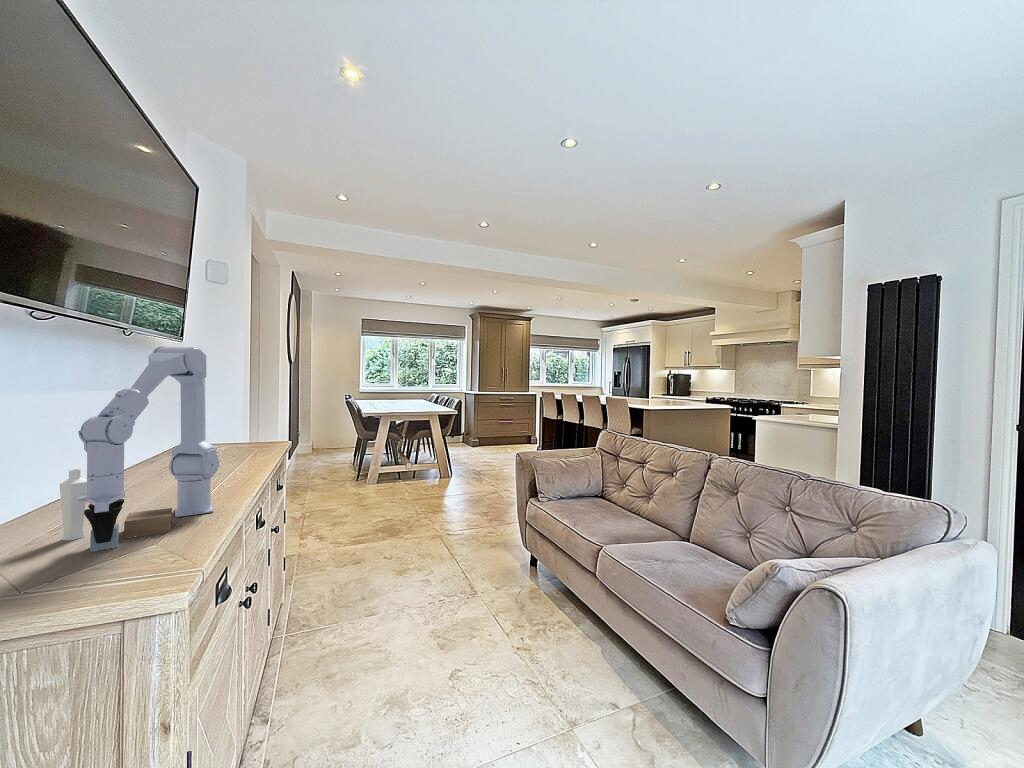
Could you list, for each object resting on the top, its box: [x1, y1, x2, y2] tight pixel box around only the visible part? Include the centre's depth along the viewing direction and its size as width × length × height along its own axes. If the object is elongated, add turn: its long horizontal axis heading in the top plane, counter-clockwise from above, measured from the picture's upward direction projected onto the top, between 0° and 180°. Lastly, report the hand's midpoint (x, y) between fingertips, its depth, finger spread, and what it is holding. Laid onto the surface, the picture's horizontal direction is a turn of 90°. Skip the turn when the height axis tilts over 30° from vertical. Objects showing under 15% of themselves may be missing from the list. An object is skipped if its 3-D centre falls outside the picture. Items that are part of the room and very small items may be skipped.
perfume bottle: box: [59, 468, 87, 541], centre depth 98 cm, size 5×4×15 cm
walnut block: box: [123, 507, 173, 539], centre depth 103 cm, size 8×8×4 cm
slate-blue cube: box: [89, 523, 120, 553], centre depth 92 cm, size 4×4×4 cm
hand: (104, 539), depth 92 cm, fingers closed on slate-blue cube, 4 cm apart
